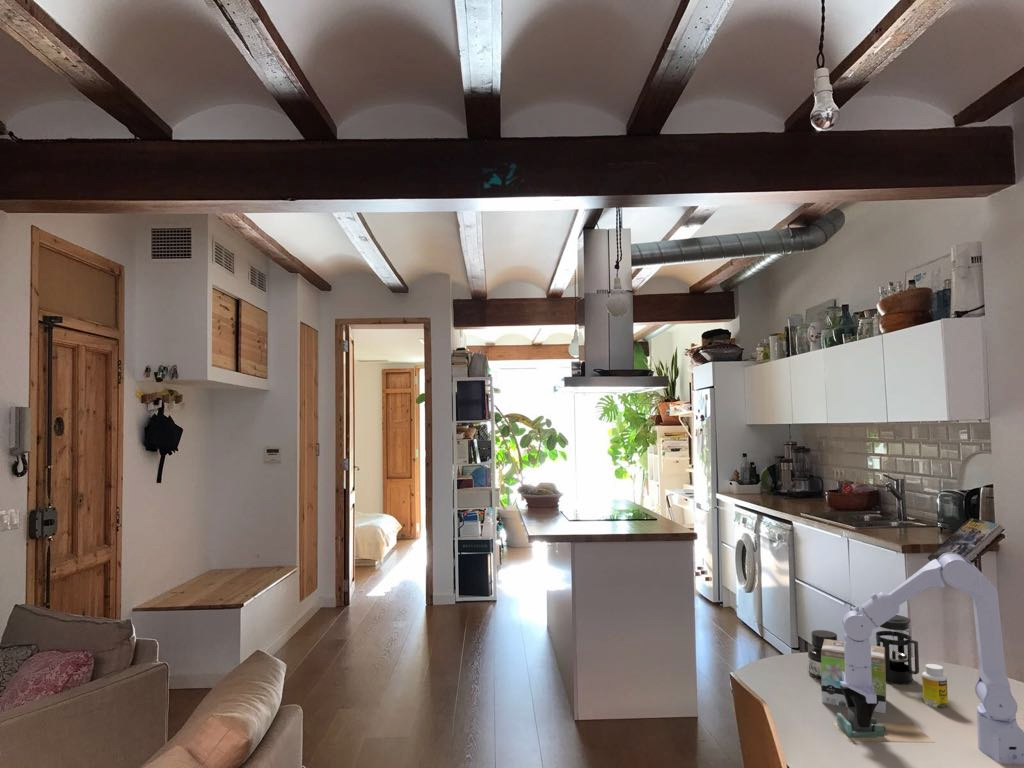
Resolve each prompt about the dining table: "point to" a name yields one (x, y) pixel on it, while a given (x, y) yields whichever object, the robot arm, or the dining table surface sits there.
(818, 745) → the dining table surface
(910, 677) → the french press
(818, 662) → the black pill bottle
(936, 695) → the supplement bottle
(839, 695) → the tea box
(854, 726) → the block
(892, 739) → the board
